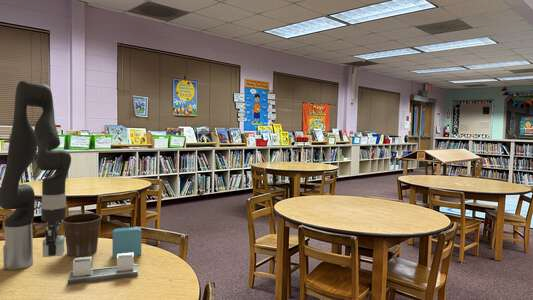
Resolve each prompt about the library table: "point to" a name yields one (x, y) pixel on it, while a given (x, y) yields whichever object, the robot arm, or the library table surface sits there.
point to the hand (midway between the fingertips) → (53, 252)
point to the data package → (126, 241)
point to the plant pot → (81, 234)
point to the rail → (102, 269)
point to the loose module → (59, 246)
